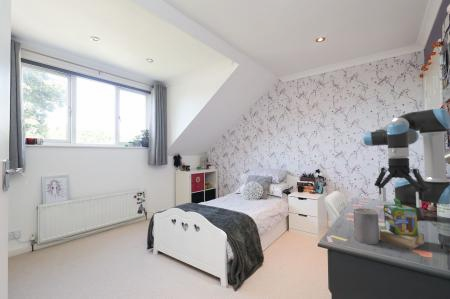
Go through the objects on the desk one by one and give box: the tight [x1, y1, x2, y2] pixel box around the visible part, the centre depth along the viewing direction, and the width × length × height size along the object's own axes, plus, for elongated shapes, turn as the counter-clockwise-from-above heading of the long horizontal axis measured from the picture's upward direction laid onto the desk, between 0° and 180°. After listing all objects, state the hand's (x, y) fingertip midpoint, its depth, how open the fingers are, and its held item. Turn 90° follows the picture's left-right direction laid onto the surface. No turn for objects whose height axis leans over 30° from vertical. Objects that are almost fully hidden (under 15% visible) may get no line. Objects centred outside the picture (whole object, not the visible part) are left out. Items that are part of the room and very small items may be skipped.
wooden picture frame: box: [379, 228, 425, 250], centre depth 99 cm, size 12×12×4 cm
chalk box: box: [383, 198, 419, 235], centre depth 100 cm, size 9×9×15 cm
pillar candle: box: [353, 207, 380, 245], centre depth 101 cm, size 10×10×15 cm
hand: (400, 204), depth 100 cm, fingers open, 13 cm apart
